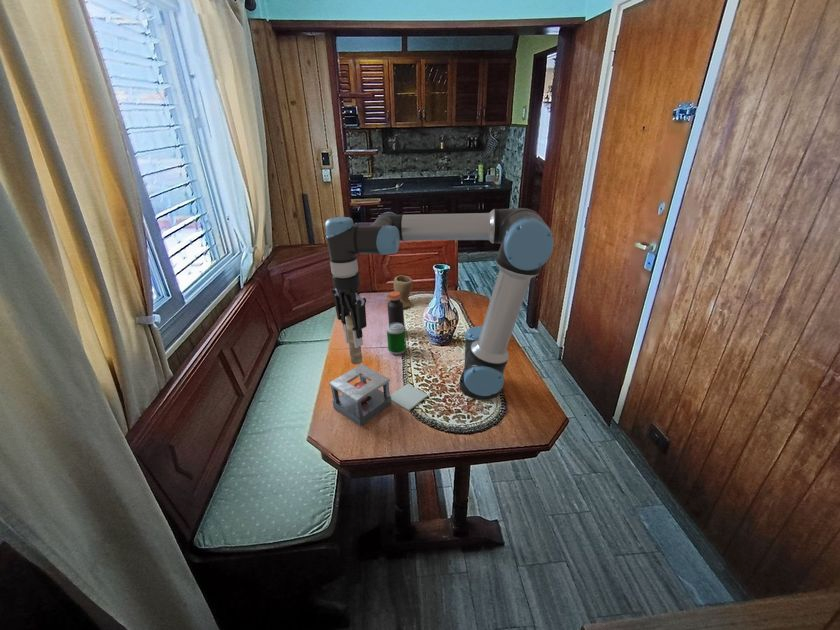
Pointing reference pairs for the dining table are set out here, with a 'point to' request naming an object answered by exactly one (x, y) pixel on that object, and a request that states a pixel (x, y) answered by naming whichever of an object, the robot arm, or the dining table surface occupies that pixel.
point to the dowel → (352, 342)
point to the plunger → (359, 387)
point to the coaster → (408, 397)
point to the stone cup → (403, 289)
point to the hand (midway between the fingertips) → (354, 343)
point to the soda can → (396, 338)
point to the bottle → (395, 308)
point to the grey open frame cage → (361, 394)
